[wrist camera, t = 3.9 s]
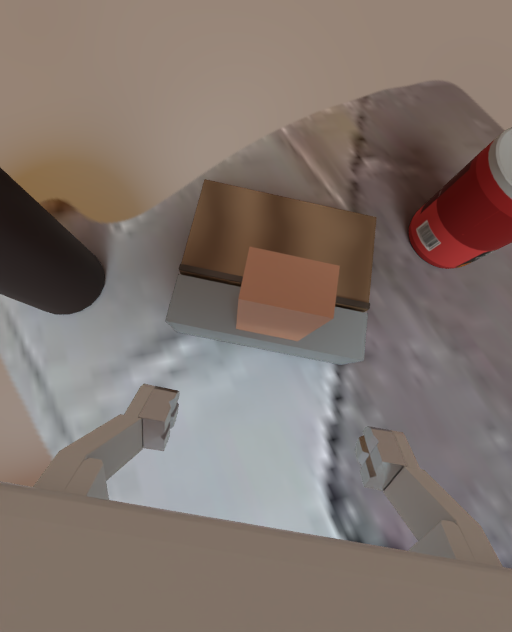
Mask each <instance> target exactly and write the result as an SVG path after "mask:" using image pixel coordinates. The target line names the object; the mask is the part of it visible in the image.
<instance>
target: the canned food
mask: <svg viewBox="0 0 512 632" xmlns="http://www.w3.org/2000/svg"><path fill="white" fill-rule="evenodd" d="M409 239H410V242H411V244H412V246H413V248H414V250H415V251H416V252H417V254H418V255H419V256H420V257H421V258H422V259H423V260H425V261H426V262H428V263H429V264H431V265H433V266H436V267H439V268H446V269H449V268H457V267H462V266H465V265H467V264H469V263H471V262H473V261H475V260H477V259H479V258H481V257H483V256H485V255H487V254H489V253H491V252H493V251H495V250H497V249H499V248H501V247H503V246H505V245H507V244H509V243H511V242H512V127H511V128H509V129H507V130H506V131H505V132H503V133H502V134H501V135H499V136H498V137H497V138H496V139H495V140H493V141H492V142H491V143H490V144H489V145H488V146H487V147H486V148H485V149H483V150H482V151H481V152H480V153H479V154H478V155H477V156H476V157H475V158H474V159H473V160H472V161H470V162H469V163H468V164H467V165H466V166H465V167H464V168H463V169H462V170H461V171H460V172H459V173H458V174H457V175H456V176H454V177H453V178H452V179H451V180H450V181H449V182H448V183H447V184H446V185H445V186H444V187H443V188H442V189H441V190H439V191H438V192H437V193H436V194H435V195H434V196H433V197H432V198H431V199H430V200H429V201H428V202H427V203H426V204H424V205H423V206H422V207H421V208H420V209H419V210H418V211H417V212H416V213H415V215H414V216H413V218H412V220H411V223H410V225H409Z"/></svg>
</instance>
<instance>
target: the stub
mask: <svg viewBox="0 0 512 632" xmlns="http://www.w3.org/2000/svg"><path fill="white" fill-rule="evenodd" d="M339 269H340V266H338V265H334V264H329V263H324V262H320V261H315V260H310V259H306V258H301V257H296V256H292V255H287V254H282V253H278V252H273V251H268V250H264V249H259V248H254V247H249V251H248V256H247V261H246V265H245V270H244V275H243V280H242V284H241V287H238V286H233V285H229V284H224V283H219V282H214V281H209V280H205V279H200V278H195V277H190V276H185V275H180V274H178V277H177V280H176V284H175V288H174V291H173V295H172V298H171V302H170V305H169V309H168V313H167V316H166V320H165V321H166V322H167V323H168V324H169V325H170V326H171V327H172V328H173V329H174V330H175V331H176V332H179V333H184V334H189V335H194V336H199V337H204V338H209V339H214V340H219V341H224V342H229V343H234V344H239V345H244V346H249V347H254V348H259V349H264V350H269V351H274V352H279V353H284V354H289V355H294V356H299V357H304V358H309V359H314V360H319V361H324V362H329V363H334V364H339V365H342V364H348V363H354V362H360V361H364V352H365V340H366V329H367V318H368V313H363V312H359V311H354V310H349V309H344V308H339V307H335V302H336V294H337V286H338V277H339Z"/></svg>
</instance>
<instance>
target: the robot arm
mask: <svg viewBox="0 0 512 632" xmlns="http://www.w3.org/2000/svg"><path fill="white" fill-rule="evenodd" d="M178 399H179V391H177V390H172V389H167V388H163V387H158V386H153V385H148V384H143V385H142V386H141V387H140V389H139V390H138V392H137V394H136V395H135V397H134V399H133V400H132V402H131V404H130V405H129V407H128V409H127V411H126V412H125V414H124V415H121V414H120V415H118V416H117V417H115V418H113V419H112V420H110V421H108V422H107V423H105V424H103V425H102V426H100V427H98V428H97V429H95V430H94V431H92V432H90V433H89V434H87V435H85V436H84V437H82V438H80V439H79V440H77V441H75V442H74V443H72V444H70V445H69V446H67V447H65V448H64V449H62V450H60V451H59V452H58V454H57V455H56V456H55V458H54V459H53V461H52V462H51V463H50V465H49V466H48V467H47V469H46V470H45V471H44V473H43V474H42V476H41V477H40V478H39V480H38V481H37V482H36V484H35V485H34V486H33V487H28V486H23V485H18V484H12V483H6V482H0V632H512V569H511V568H505V567H503V566H502V564H501V563H500V561H499V559H498V557H497V555H496V553H495V552H494V550H493V548H492V546H491V544H490V542H489V541H488V539H487V537H486V535H485V533H484V531H483V530H482V528H481V526H480V525H479V524H478V523H477V522H476V521H475V520H474V519H473V518H472V517H471V516H470V515H469V514H468V513H467V512H466V511H465V510H464V509H463V508H462V507H461V506H460V505H459V504H458V503H457V502H456V501H455V500H454V499H453V498H452V497H451V496H450V495H449V494H448V493H447V492H446V491H445V490H444V489H443V488H442V487H441V486H440V485H439V484H438V483H437V482H436V481H435V480H434V479H433V478H432V477H431V476H429V475H428V474H427V473H426V472H425V471H424V470H422V469H420V467H419V465H418V463H417V461H416V459H415V456H414V454H413V452H412V450H411V448H410V446H409V443H408V441H407V439H406V437H405V435H404V434H403V433H402V432H397V431H392V430H387V429H381V428H375V427H370V426H367V427H365V429H364V430H363V434H364V435H363V436H361V437H359V438H358V440H357V442H356V446H355V455H356V459H357V461H358V462H359V463H360V465H361V466H362V467H361V469H360V474H361V478H362V482H363V486H364V487H367V488H372V489H377V490H381V491H384V494H385V495H386V496H387V498H388V499H389V501H390V502H391V503H392V505H393V506H394V508H395V509H396V510H397V512H398V513H399V515H400V516H401V517H402V519H403V520H404V522H405V523H406V524H407V526H408V527H409V529H410V530H411V532H412V533H413V534H414V536H415V537H416V539H417V540H418V542H417V543H415V544H414V545H413V546H412V547H411V548H410V550H409V551H405V550H399V549H393V548H387V547H381V546H375V545H369V544H363V543H358V542H352V541H346V540H340V539H334V538H329V537H323V536H317V535H311V534H305V533H299V532H294V531H288V530H282V529H276V528H270V527H264V526H258V525H252V524H246V523H241V522H235V521H229V520H223V519H217V518H211V517H205V516H199V515H194V514H188V513H182V512H176V511H170V510H164V509H158V508H152V507H147V506H141V505H135V504H129V503H123V502H117V501H111V500H109V497H108V491H107V484H106V481H107V480H108V479H109V478H110V477H111V476H112V475H114V474H115V473H116V472H117V471H118V470H119V469H120V468H122V467H123V466H124V465H125V464H126V463H127V462H128V461H130V460H131V459H132V458H133V457H134V456H135V455H137V454H138V453H139V452H140V451H141V450H142V449H143V448H147V449H154V450H160V451H164V450H165V447H166V444H167V442H168V439H169V437H170V429H171V428H172V427H173V426H174V423H175V421H176V417H177V414H178V407H179V404H178V403H177V401H178Z"/></svg>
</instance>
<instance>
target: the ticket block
mask: <svg viewBox="0 0 512 632" xmlns="http://www.w3.org/2000/svg"><path fill="white" fill-rule="evenodd" d="M375 227H376V217H373V216H368V215H363V214H359V213H354V212H350V211H345V210H341V209H336V208H332V207H327V206H323V205H318V204H314V203H309V202H305V201H300V200H296V199H291V198H287V197H282V196H278V195H273V194H269V193H264V192H260V191H255V190H251V189H246V188H242V187H237V186H233V185H228V184H224V183H219V182H215V181H210V180H206V179H205V180H204V183H203V187H202V191H201V194H200V198H199V201H198V205H197V208H196V212H195V216H194V219H193V223H192V226H191V230H190V234H189V237H188V241H187V244H186V248H185V252H184V255H183V259H182V262H181V264H180V267H179V271H180V274H181V275H185V276H190V277H195V278H200V279H205V280H209V281H214V282H219V283H224V284H229V285H233V286H238V287H241V284H242V280H243V275H244V270H245V265H246V261H247V256H248V251H249V247H254V248H259V249H264V250H268V251H273V252H278V253H282V254H287V255H292V256H296V257H301V258H306V259H310V260H315V261H320V262H324V263H329V264H334V265H338V266H340V269H339V277H338V286H337V294H336V302H335V307H339V308H344V309H349V310H354V311H359V312H363V313H364V312H365V311H367V310H368V309H369V308H370V303H369V295H370V284H371V273H372V261H373V250H374V239H375Z"/></svg>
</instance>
